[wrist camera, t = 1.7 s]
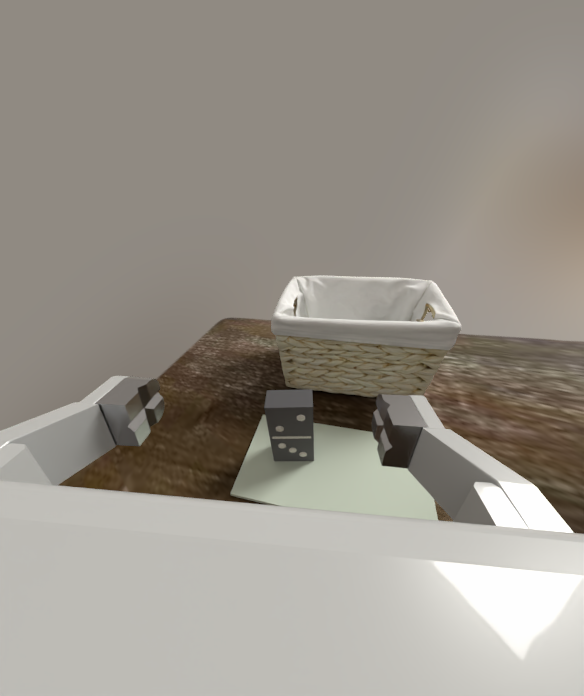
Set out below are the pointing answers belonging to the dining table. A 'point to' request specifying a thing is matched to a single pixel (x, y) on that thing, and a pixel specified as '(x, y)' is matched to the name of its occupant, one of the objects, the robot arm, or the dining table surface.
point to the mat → (332, 477)
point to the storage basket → (362, 334)
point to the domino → (290, 424)
